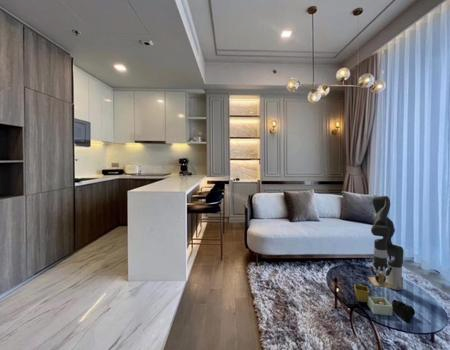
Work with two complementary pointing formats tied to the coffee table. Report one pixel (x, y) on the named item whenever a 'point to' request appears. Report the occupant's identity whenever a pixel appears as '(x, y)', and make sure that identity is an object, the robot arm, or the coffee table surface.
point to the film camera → (403, 310)
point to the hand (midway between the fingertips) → (380, 281)
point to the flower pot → (361, 293)
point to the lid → (381, 281)
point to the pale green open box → (379, 305)
